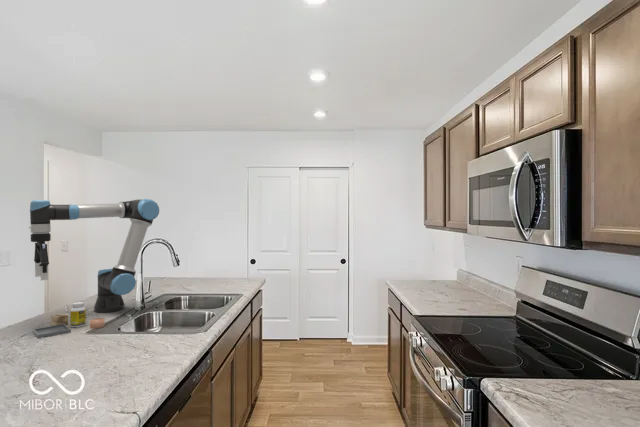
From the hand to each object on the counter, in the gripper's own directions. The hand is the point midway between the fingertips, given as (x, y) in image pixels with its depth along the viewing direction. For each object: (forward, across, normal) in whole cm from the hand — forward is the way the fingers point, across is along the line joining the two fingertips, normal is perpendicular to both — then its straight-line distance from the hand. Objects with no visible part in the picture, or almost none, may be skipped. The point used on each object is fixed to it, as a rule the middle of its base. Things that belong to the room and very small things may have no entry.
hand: (41, 278), depth 176 cm
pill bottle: (+24, +8, +12) cm, 28 cm away
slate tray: (+24, +11, +2) cm, 26 cm away
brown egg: (+24, +16, +19) cm, 34 cm away
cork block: (+24, +1, +6) cm, 25 cm away
